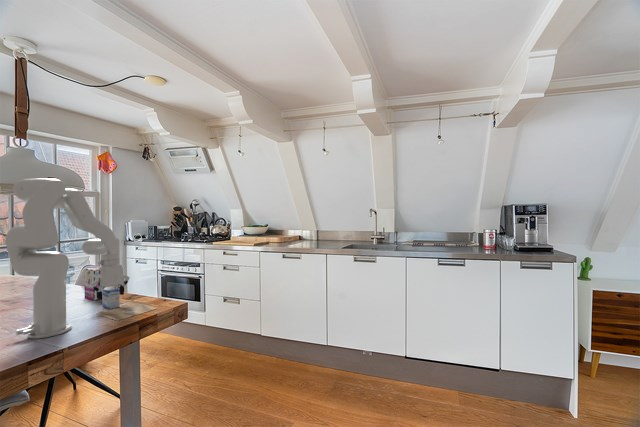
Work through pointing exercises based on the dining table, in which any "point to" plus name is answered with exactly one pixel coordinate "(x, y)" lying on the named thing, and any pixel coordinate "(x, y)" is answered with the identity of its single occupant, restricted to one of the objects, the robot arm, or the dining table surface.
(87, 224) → the robot arm
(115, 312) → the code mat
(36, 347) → the dining table surface
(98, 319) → the dining table surface
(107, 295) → the medicine box
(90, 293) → the candy bar box
